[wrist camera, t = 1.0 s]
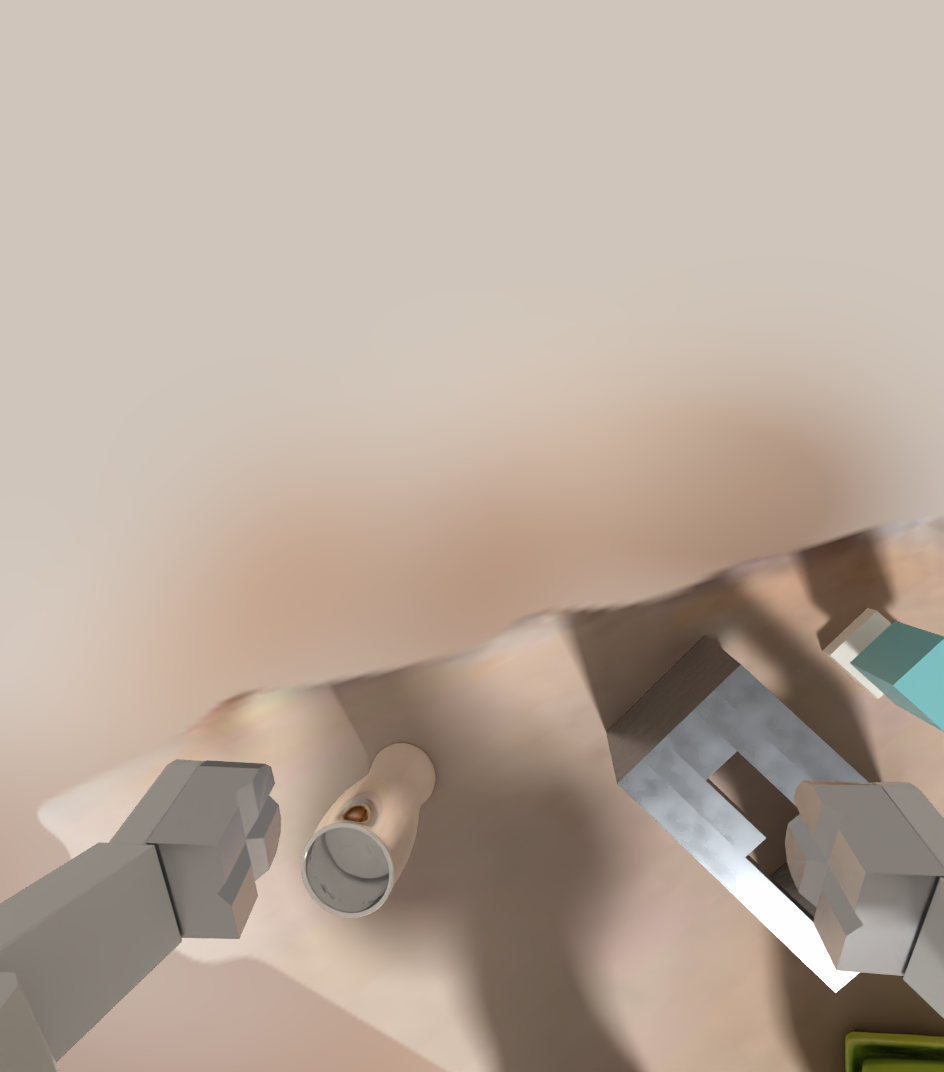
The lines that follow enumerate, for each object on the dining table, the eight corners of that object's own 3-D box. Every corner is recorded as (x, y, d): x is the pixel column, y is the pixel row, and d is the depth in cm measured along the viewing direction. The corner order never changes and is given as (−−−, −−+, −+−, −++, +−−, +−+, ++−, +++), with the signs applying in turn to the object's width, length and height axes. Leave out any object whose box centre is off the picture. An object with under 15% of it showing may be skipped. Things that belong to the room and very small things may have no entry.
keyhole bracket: (889, 804, 49) (972, 877, 40) (781, 899, 51) (835, 993, 41) (705, 635, 51) (740, 664, 41) (606, 732, 53) (617, 783, 43)
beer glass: (356, 749, 56) (283, 835, 41) (425, 728, 55) (376, 808, 40) (381, 820, 56) (317, 932, 41) (451, 801, 55) (410, 908, 40)
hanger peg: (915, 650, 49) (1006, 685, 39) (868, 693, 49) (946, 738, 39) (867, 607, 49) (945, 631, 39) (821, 650, 50) (887, 685, 40)
